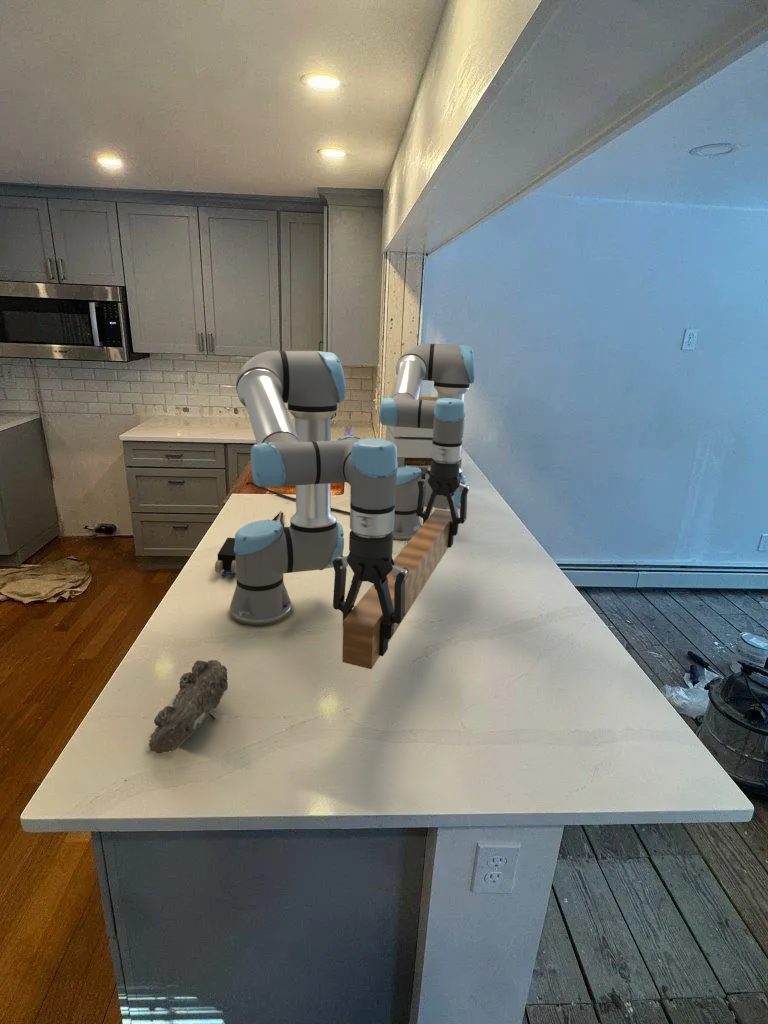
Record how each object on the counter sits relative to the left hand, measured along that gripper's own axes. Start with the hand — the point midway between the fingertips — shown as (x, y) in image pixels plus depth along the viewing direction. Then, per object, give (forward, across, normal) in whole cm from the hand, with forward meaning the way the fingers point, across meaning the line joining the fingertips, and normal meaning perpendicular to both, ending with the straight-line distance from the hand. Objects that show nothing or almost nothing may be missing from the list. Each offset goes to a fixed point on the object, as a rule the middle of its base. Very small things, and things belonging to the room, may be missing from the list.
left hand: (367, 647), depth 104 cm
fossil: (+16, -30, -12) cm, 36 cm away
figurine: (+15, -86, +190) cm, 210 cm away
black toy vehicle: (+16, -60, +44) cm, 76 cm away
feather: (+16, -72, +91) cm, 117 cm away
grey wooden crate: (+15, -42, +172) cm, 177 cm away
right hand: (0, -1, +54) cm, 54 cm away
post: (+1, -1, +27) cm, 27 cm away
